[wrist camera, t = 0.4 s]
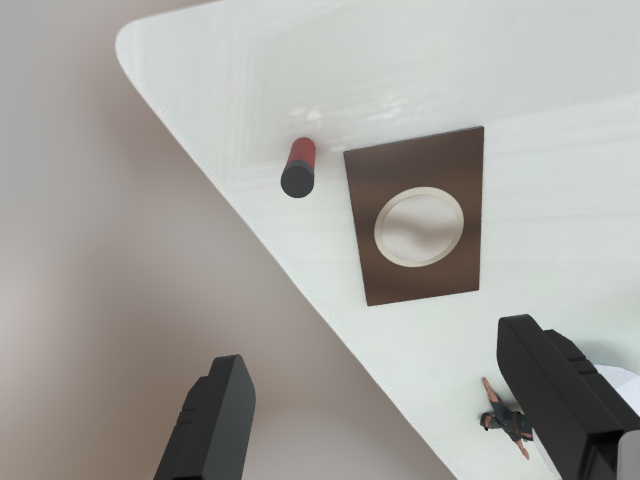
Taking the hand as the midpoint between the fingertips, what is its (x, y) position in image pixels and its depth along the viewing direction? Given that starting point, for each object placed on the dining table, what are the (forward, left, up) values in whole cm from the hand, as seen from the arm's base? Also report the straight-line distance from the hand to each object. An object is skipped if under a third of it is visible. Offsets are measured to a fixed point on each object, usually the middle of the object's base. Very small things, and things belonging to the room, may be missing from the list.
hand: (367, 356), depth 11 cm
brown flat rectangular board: (+10, +8, -28) cm, 31 cm away
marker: (-1, -3, -28) cm, 28 cm away
